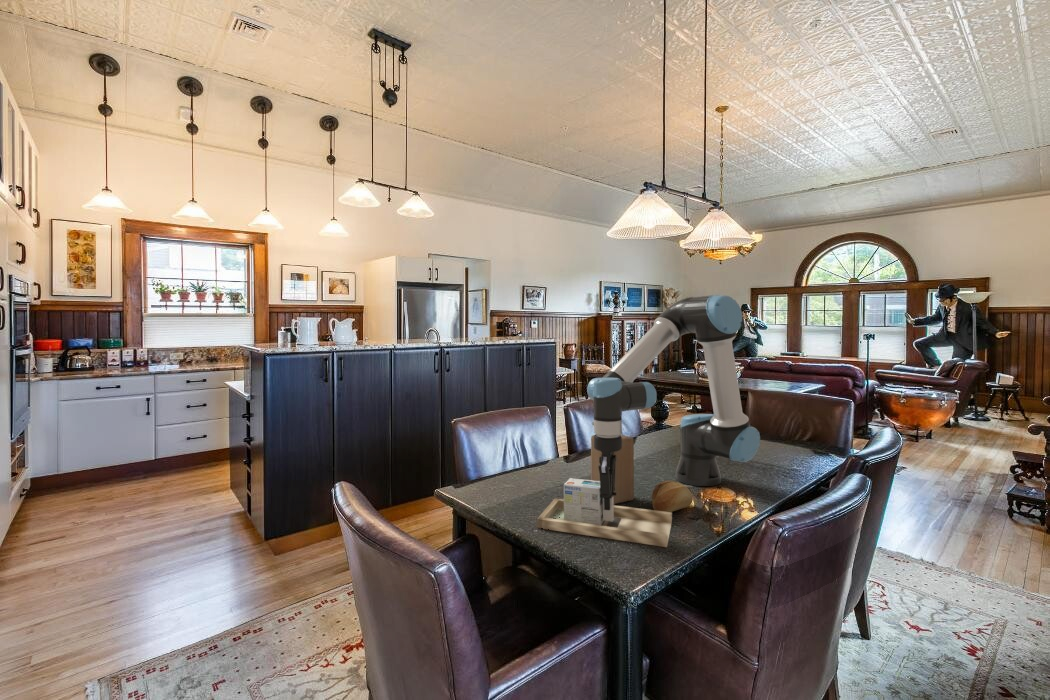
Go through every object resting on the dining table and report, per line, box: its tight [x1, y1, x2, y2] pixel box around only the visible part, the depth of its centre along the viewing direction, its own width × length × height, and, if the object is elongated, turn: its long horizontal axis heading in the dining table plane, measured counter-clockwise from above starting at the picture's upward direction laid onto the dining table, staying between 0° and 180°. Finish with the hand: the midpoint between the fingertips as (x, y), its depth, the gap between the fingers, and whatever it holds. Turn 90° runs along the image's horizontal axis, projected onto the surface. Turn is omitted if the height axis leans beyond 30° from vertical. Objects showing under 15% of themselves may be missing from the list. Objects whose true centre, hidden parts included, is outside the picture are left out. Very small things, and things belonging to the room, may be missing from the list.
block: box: [590, 433, 635, 505], centre depth 150 cm, size 10×10×20 cm
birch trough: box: [536, 497, 673, 548], centre depth 131 cm, size 34×17×3 cm, turn 69°
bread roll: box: [651, 480, 693, 513], centre depth 141 cm, size 10×15×8 cm, turn 130°
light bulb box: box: [563, 477, 604, 525], centre depth 134 cm, size 11×7×11 cm, turn 68°
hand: (608, 519), depth 131 cm, fingers closed
